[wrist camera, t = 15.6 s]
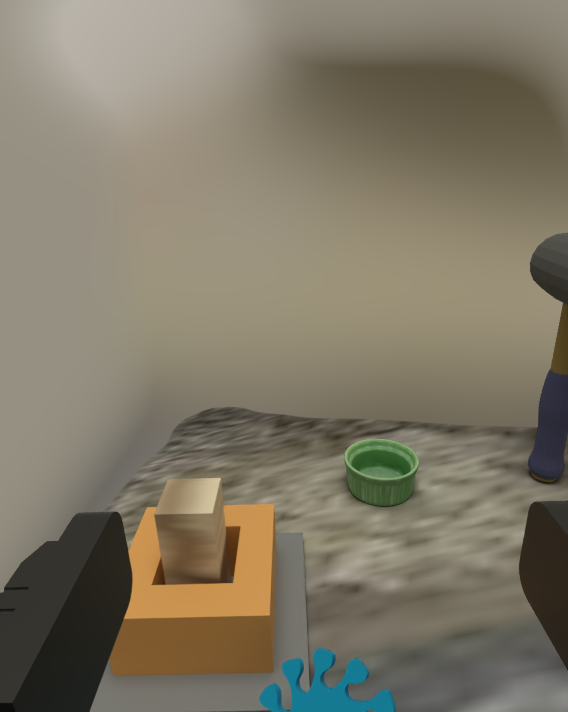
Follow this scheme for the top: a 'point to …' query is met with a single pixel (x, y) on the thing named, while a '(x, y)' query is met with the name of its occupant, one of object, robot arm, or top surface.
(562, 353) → the rubber mallet
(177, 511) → the tall wooden block
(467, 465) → the top surface
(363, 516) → the top surface
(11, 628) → the robot arm
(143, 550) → the orange square frame
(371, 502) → the ramekin
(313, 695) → the gear
